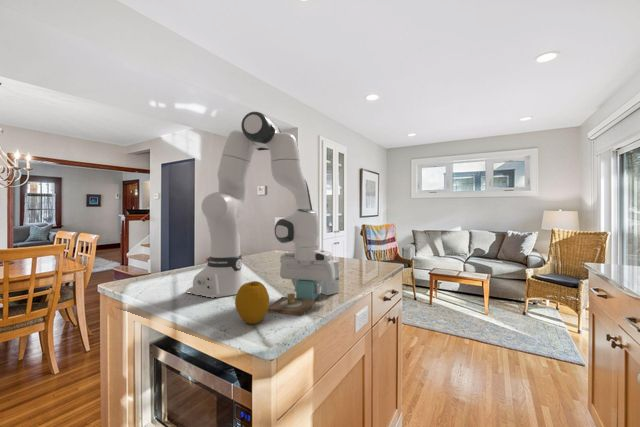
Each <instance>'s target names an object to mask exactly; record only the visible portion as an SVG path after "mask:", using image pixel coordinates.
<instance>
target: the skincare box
mask: <svg viewBox="0 0 640 427" xmlns="http://www.w3.org/2000/svg"><path fill="white" fill-rule="evenodd" d="M331 260H332V261H333V263H334V268H335V279H334V280H333V281H332V282H325V281H323V283H322V285H321V287H320V293H321V294H322V295H324V296H329V295H335V294H339V293H340V266H339V265H340V262H339V261H338V260H333V259H331Z"/></svg>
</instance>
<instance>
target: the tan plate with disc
mask: <svg viewBox="0 0 640 427" xmlns="http://www.w3.org/2000/svg"><path fill="white" fill-rule="evenodd" d="M314 304H315V300H313V299H302V298H296V294H295V293H287V296H281V297H280V298H278V299H277V300H275V301H274V302H272V303H271V304H269V308H268V310H267V313H272V314H283V315H291V316H292V315H294V316H304V314H305V313H306V312H307V311H308V310H309V309H310V308H311V307H312V306H313V305H314Z"/></svg>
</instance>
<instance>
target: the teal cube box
mask: <svg viewBox="0 0 640 427" xmlns="http://www.w3.org/2000/svg"><path fill="white" fill-rule="evenodd" d="M318 285H319V284H317V281H310V280H297V281H296V292H295V293H296V294H295V298H302V299H313V300H314V301H315V300H316V299H317V298H318V294H319V293H314V288H315V287H318Z"/></svg>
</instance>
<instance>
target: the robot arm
mask: <svg viewBox="0 0 640 427" xmlns="http://www.w3.org/2000/svg"><path fill="white" fill-rule="evenodd" d="M240 127H241V129H236V130H233V131H231V132H230V133H229V135H228V136H227V138H226V141H225V143H224V146H223V149H222V154H221V156H220V157H221V158H220V161H219V165H218V170H217V179H218V191H216V192H212V193H210V194H208V195H206V196H205V197H204V199H203V200H202V202H201V212H202V214H203V215H204V216H205V219H206V222H207V227H208V230H209V232H208V233H209V236H210V256H209V257H207V258H206V259H205V260H204V261H205V262H207V264H206V266H205V267H204V268H202V270H200V271H199V272H198V273H197V274H196V275H194V277H193V280H192V286H191V287H189V288H187V290H186V291H185V293H186V292H190V293H193V294H197V295H202V296H206V297H205V298H207V297H211V298H210V299H215V298H214V297H216V298H221V297H227V296H234V295H237V292H238V290H239V289H240V287H241V286H242V285H243V284H244V279H243V273H242V266H243V263H242V261H243V260H242V254H241V234H240V232H239V230H238V224H237V221H236V220H237V219H238V218H239V217H240V216H242V215H243V214H244V211H245V208H246V206H245V197H246V184H247V179H248V174H249V170H250V166H251V161H252V156H253V153H254V152H255V150H257V151H259V152H260V151H267V150H268V151H269V153H270V169H271V174H272V177H273V178H272V179H273V180H274V181H275V182H276V183H277V184H278V185H280V186H281V187H283V188H285V189H287V190H288V191H290V192H291V193H292V194H293V196H294V198H295V203H296V208H297V209H295V211H294V212H293V213H292V214H289V215H288V216H286V217H284V218H281V219H278V221H276V223H275V225H274V236H275V238H276V240H277V241H278V242H280V243H281V244H294V253H288V252H284V253H283V254H281V256H280V259H279V260H280V270H279V277H280V278H281V279H282V280H283V279H284V280H291V283H292V285H293V286H294V292H295V293H296V281H297V280H310V281H317V284H318V287H315V288H314V293H318V294H319V293H321V285H322V283H323V281H325V282H332V281H333V280H334V279H335V268H334V263H333V261H332V260H333V259H332V257H333V254H332V252H330V251H327V250H325V249H321V248H320V243H319V234H320V233H319V232H320V228H319V226H320V225H319V217H318V214H317V212H316V211H315V210H313V205H312V200H311V194H310V190H309V185H308V182H307V180H306V178H305V176H304V175H303V174H304V173H303V172H302V167H301V158H300V150H299V146H298V142H297V139H296V137H295V136H294V135H293V134H292V133H289V132H281V130H280V128H279V127H278V126H277V124H276V123H275V122H274V121H273V120H272V119H270V118H269V117H268V116H267V115H265V114H264V113H262V112H259V111H251V112H248V113H247V114H246V115H244V117H243V118H242V120H241V125H240ZM197 295H196V296H197ZM202 296H201V297H202Z"/></svg>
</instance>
